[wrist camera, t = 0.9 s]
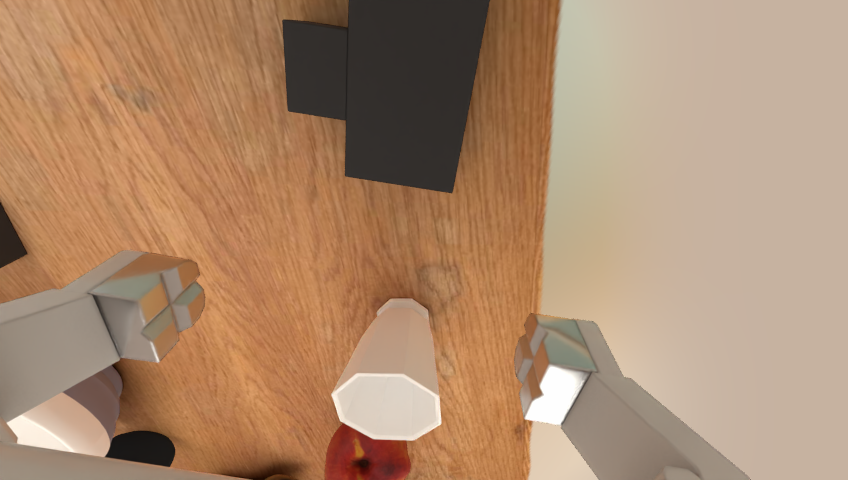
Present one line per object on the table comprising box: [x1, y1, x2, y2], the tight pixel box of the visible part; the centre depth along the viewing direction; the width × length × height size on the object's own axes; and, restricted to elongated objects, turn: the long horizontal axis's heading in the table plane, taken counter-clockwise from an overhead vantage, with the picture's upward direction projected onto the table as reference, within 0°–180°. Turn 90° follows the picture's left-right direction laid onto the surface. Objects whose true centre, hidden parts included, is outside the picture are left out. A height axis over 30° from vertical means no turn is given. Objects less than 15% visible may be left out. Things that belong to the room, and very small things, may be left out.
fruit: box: [325, 423, 411, 480], centre depth 32 cm, size 8×8×8 cm
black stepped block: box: [282, 0, 490, 193], centre depth 18 cm, size 10×9×3 cm
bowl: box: [7, 365, 123, 457], centre depth 32 cm, size 14×14×8 cm
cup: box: [332, 298, 441, 441], centre depth 26 cm, size 7×10×8 cm
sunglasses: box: [105, 431, 175, 467], centre depth 43 cm, size 17×15×5 cm
